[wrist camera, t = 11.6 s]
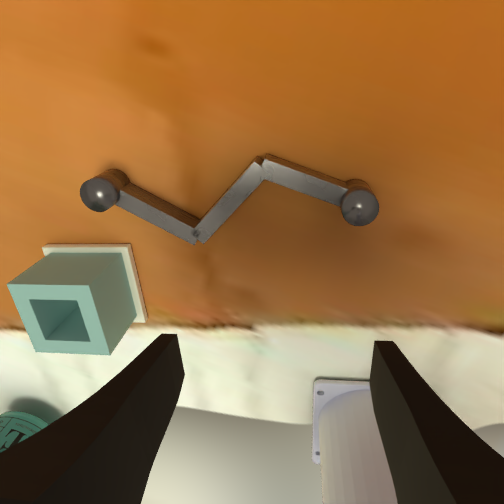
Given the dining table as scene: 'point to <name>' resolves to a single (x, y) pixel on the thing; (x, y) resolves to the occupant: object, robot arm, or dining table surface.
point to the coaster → (128, 263)
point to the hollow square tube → (75, 302)
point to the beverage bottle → (18, 428)
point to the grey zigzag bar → (229, 197)
